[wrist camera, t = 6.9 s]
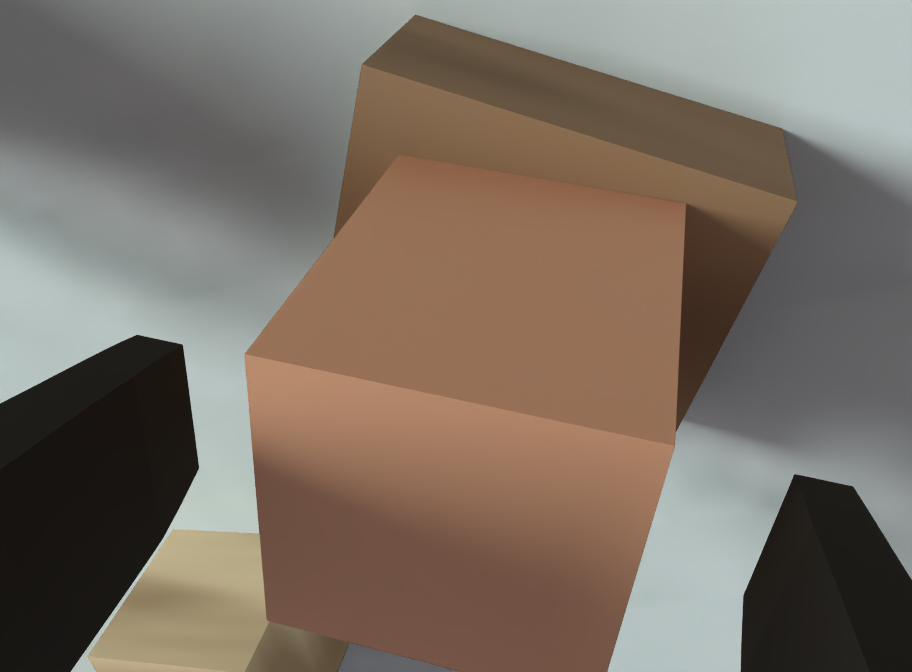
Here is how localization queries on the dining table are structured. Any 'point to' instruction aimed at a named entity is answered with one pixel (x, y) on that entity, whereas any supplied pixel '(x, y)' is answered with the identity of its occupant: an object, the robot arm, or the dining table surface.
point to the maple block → (207, 615)
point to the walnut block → (583, 155)
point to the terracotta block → (470, 419)
